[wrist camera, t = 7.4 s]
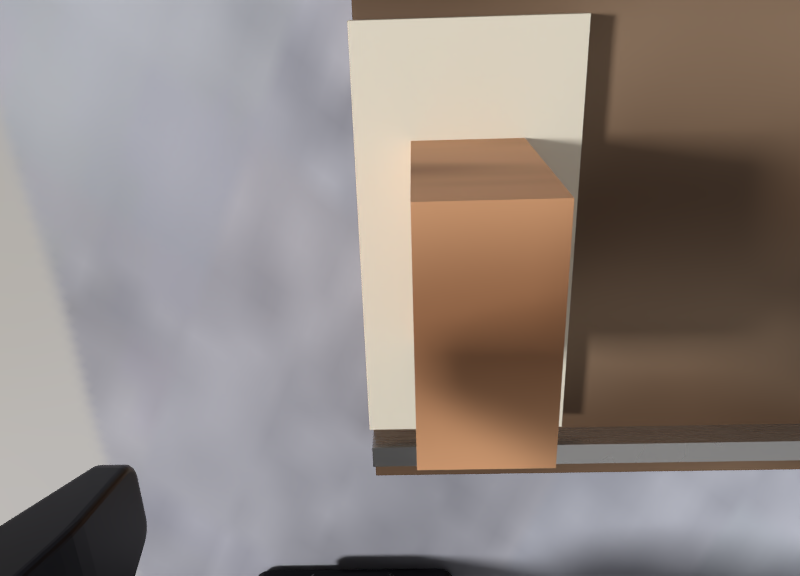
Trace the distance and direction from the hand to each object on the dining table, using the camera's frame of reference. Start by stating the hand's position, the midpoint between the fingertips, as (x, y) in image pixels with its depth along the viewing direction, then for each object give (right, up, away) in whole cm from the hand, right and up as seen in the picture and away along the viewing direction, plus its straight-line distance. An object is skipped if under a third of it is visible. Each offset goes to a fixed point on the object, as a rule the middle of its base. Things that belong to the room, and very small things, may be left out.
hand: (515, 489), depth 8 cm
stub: (0, +4, +9) cm, 9 cm away
